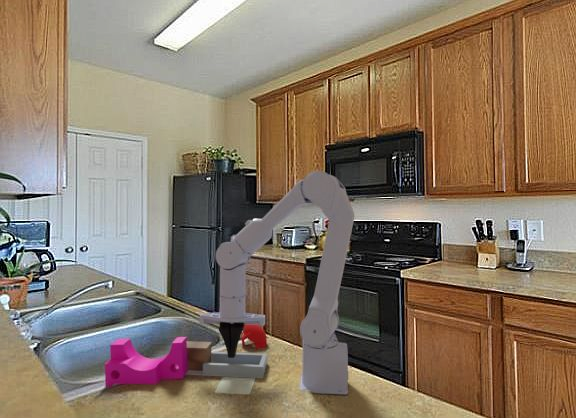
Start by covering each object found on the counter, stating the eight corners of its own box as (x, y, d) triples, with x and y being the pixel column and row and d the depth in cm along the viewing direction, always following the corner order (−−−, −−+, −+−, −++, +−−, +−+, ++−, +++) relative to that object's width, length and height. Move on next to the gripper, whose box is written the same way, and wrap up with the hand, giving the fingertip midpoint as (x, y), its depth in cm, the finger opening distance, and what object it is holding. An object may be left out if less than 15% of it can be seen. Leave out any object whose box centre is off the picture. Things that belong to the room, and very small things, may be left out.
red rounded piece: (232, 333, 102) (242, 326, 98) (248, 321, 107) (258, 314, 102) (249, 359, 101) (259, 353, 97) (265, 346, 105) (275, 340, 101)
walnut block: (211, 363, 89) (211, 342, 89) (206, 371, 85) (206, 348, 85) (185, 362, 89) (186, 341, 89) (179, 369, 85) (180, 347, 85)
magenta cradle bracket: (105, 386, 78) (104, 349, 78) (119, 373, 84) (118, 338, 84) (179, 384, 78) (177, 346, 78) (187, 371, 84) (186, 336, 84)
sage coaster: (255, 381, 81) (255, 378, 81) (249, 397, 74) (249, 394, 74) (222, 379, 82) (222, 377, 82) (214, 395, 75) (214, 392, 75)
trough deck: (267, 365, 90) (267, 353, 90) (262, 380, 82) (262, 367, 82) (187, 362, 91) (187, 350, 91) (175, 376, 83) (175, 363, 83)
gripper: (267, 292, 90) (266, 350, 90) (205, 290, 91) (205, 348, 91) (263, 299, 83) (262, 362, 83) (196, 297, 84) (195, 360, 83)
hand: (231, 356), depth 86 cm, fingers closed
